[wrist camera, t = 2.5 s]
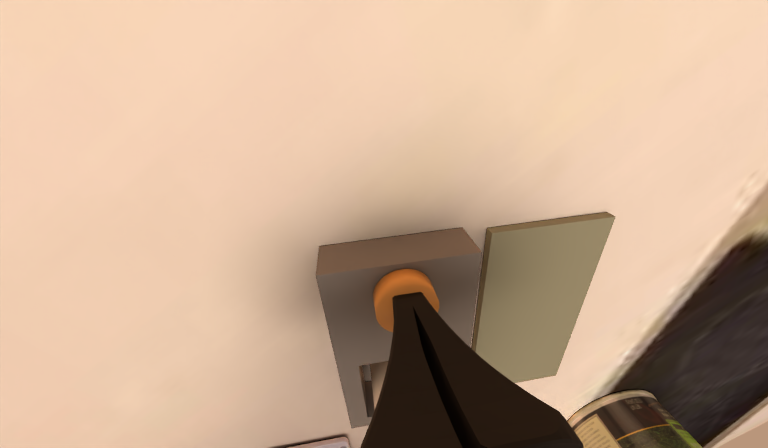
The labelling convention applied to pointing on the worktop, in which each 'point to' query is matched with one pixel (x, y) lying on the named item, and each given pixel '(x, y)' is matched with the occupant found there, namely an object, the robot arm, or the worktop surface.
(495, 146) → the worktop surface
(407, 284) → the button
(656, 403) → the coffee can
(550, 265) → the mat
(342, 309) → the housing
